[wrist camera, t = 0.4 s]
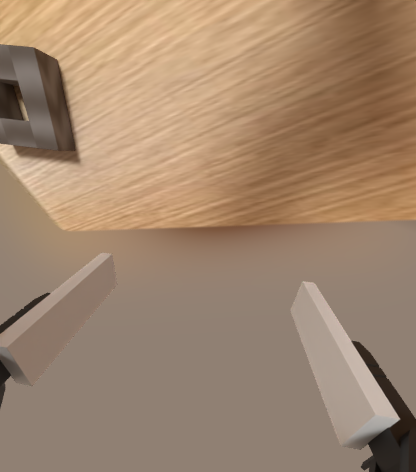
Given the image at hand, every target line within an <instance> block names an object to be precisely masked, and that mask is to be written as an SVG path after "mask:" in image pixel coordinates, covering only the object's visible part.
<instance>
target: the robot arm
mask: <svg viewBox="0 0 416 472" xmlns="http://www.w3.org/2000/svg"><path fill="white" fill-rule="evenodd" d="M116 285H117V279H116V274H115V268H114V262H113V257H112V254H108V253H101V254H99V255H98V256H97V257H96V258H95V259H93V260H92V261H91V262H89V263H88V264H87V265H86V266H85V267H83V268H82V269H81V270H80V271H78V272H77V273H76V274H75V275H73V276H72V277H71V278H70V279H68V280H67V281H66V282H65V283H63V284H62V285H61V286H60V287H58V288H57V289H56V290H55V291H53V292H52V293H46V294H44V295H42V296H40V297H38V298H36V299H34V300H33V301H32V302H30V303H29V304H28V305H26V306H25V307H24V309H21V310H20V311H19V312H17V313H16V314H15V316H12V317H11V318H9V319H8V320H7V321H6V322H4V323H3V324H2V325H0V407H1V403H2V400H3V396H4V392H5V383H4V382H5V381H6V380H7V379H8V378H9V377H10V376H12V378H13V379H14V381H15V382H16V383H20V384H24V385H30V386H33V385H34V383H35V382H36V381H37V380H38V379H39V377H40V376H41V375H42V374H43V373H44V371H45V370H46V369H47V368H48V367H49V365H50V364H51V363H52V362H53V361H54V359H55V358H56V357H57V356H58V355H59V353H60V352H61V351H62V350H63V349H64V347H65V346H66V345H67V344H68V343H69V342H70V340H71V339H72V338H73V337H74V336H75V334H76V333H77V332H78V331H79V330H80V328H81V327H82V326H83V325H84V324H85V322H86V321H87V320H88V319H89V318H90V316H91V315H92V314H93V313H94V312H95V310H96V309H97V308H98V307H99V306H100V304H101V303H102V302H103V301H104V300H105V299H106V297H107V296H108V295H109V294H110V293H111V291H112V290H113V289H114V288H115V287H116ZM290 312H291V314H292V317H293V320H294V322H295V325H296V328H297V330H298V333H299V336H300V339H301V341H302V344H303V347H304V349H305V352H306V355H307V357H308V360H309V363H310V365H311V368H312V371H313V374H314V376H315V378H316V381H317V384H318V387H319V389H320V392H321V395H322V398H323V400H324V403H325V406H326V409H327V411H328V414H329V417H330V419H331V422H332V424H333V427H334V430H335V433H336V436H337V438H338V441H339V443H340V446H343V447H348V448H354V449H359V450H361V449H362V448H364V447H365V446H366V445H367V444H368V445H369V447H370V449H371V451H372V453H373V456H371V457H370V458H368V459H367V460H366V461H364V462H363V464H362V466H361V468H362V469H363V470H366V469H367V468H369V472H416V419H415V417H414V416H413V414H412V413H411V411H410V410H409V408H408V407H407V406H406V404H405V403H404V401H403V400H402V398H401V397H400V395H399V394H398V393H397V391H396V390H395V388H394V387H393V386H392V384H391V382H390V381H389V379H387V378H386V375H385V374H384V372H383V371H382V369H381V368H379V365H378V363H377V362H376V360H375V359H374V358H373V356H372V355H371V353H370V352H369V351H368V350H366V348H364V346H363V345H361V344H360V343H359V342H355V341H351V340H350V339H349V337H348V336H347V334H346V332H345V331H344V329H343V328H342V326H341V324H340V323H339V321H338V320H337V318H336V317H335V315H334V313H333V312H332V310H331V309H330V307H329V305H328V304H327V302H326V301H325V299H324V297H323V296H322V294H321V293H320V291H319V290H318V288H317V286H316V285H315V283H311V282H304V281H302V284H301V286H300V288H299V291H298V293H297V296H296V298H295V301H294V303H293V305H292V308H291V310H290Z"/></svg>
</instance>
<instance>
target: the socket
mask: <svg viewBox="0 0 416 472" xmlns="http://www.w3.org/2000/svg"><path fill="white" fill-rule="evenodd" d="M13 85H14V86H20V90H21V93H22V97H23V100H24V104H25V107H26V111H27V114H28V118H29V121H23V118H22V115H21V112H20V108H19V105H18V102H17V98H16V95H15V92H14V88H13ZM0 143H1V144H9V145H17V146H25V147H34V148H42V149H50V150H58V151H75V146H74V142H73V137H72V132H71V127H70V122H69V117H68V112H67V107H66V102H65V97H64V92H63V87H62V82H61V77H60V72H59V68H58V63H57V59H55V58H53V57H51V56H49V55H47V54H45V53H43V52H42V51H40V50H38V49H36V48H34V47H24V46H13V45H1V44H0Z"/></svg>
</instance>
